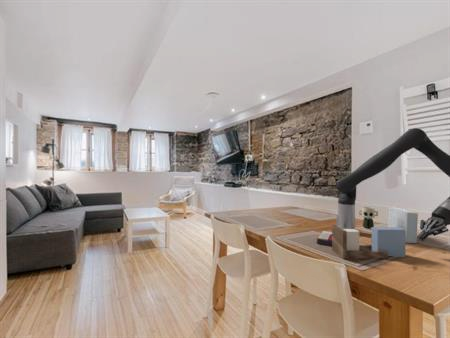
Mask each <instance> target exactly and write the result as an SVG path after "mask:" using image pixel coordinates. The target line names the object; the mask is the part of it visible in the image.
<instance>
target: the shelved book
mask: <svg viewBox="0 0 450 338" xmlns="http://www.w3.org/2000/svg"><path fill="white" fill-rule="evenodd" d="M344 230H345V231H347V251H359V245H360V230H357V229H356V228H355V229H344Z"/></svg>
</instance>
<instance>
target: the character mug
mask: <svg viewBox="0 0 450 338" xmlns="http://www.w3.org/2000/svg"><path fill="white" fill-rule="evenodd" d="M358 215H359V216H362V218H363V221H362V227H363V228H369V229H372V227H375V224H374V220H373V219H374V218H375V217H379V211H377V210H376V209H375V208H374V207H369V206H363V207H361V209H359V210H358Z"/></svg>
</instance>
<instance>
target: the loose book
mask: <svg viewBox="0 0 450 338" xmlns="http://www.w3.org/2000/svg"><path fill="white" fill-rule="evenodd" d="M371 245H372V251H388V256H393V257H392V258H405V257H406V242H405V230H404V229H402V228H399V227H388V226H374V227H372V228H371Z"/></svg>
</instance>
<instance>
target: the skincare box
mask: <svg viewBox="0 0 450 338" xmlns="http://www.w3.org/2000/svg"><path fill="white" fill-rule="evenodd" d="M418 217H419V214H418V213H417V212H414V211H411V210H407V209H404V208H401V207H398V206H397V207H395V206H388V220H387V221H388V222H387V223H388V224H387V227H399V228H402V229H404V230H405V244H406V243H407V244H417V242H418V238H417V236H418V222H419V221H418V219H419V218H418Z"/></svg>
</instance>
